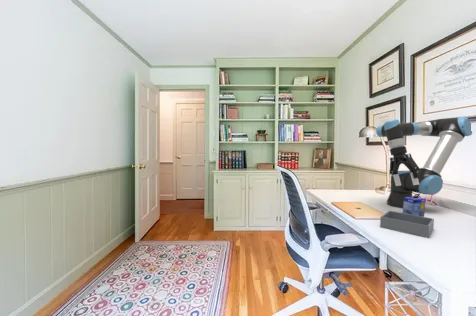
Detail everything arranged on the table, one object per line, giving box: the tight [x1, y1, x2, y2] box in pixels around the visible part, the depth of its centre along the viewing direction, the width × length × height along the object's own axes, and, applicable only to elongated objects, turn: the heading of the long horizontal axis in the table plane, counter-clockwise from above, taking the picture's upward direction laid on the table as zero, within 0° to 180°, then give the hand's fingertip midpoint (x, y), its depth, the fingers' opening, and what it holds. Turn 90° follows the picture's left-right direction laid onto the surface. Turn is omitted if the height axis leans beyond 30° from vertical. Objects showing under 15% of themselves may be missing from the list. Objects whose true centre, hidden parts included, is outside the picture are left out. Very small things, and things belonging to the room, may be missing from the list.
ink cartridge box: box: [402, 193, 427, 217], centre depth 120 cm, size 10×6×14 cm, turn 113°
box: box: [379, 210, 435, 239], centre depth 109 cm, size 15×18×5 cm
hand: (407, 185), depth 126 cm, fingers open, 13 cm apart
